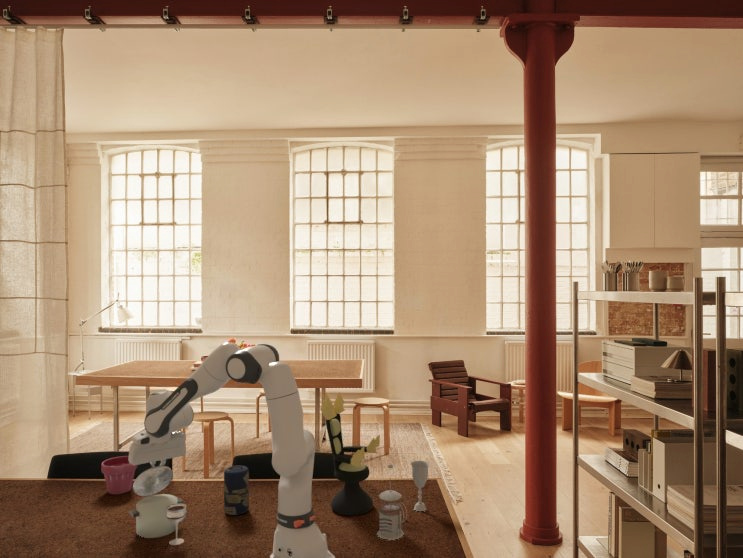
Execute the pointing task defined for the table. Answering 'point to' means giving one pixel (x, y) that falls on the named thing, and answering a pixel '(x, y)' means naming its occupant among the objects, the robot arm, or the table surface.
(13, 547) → the table surface
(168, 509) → the wineglass
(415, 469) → the chalice
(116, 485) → the plant pot
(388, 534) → the french press
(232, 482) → the canister
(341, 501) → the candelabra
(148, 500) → the pot
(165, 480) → the lid
